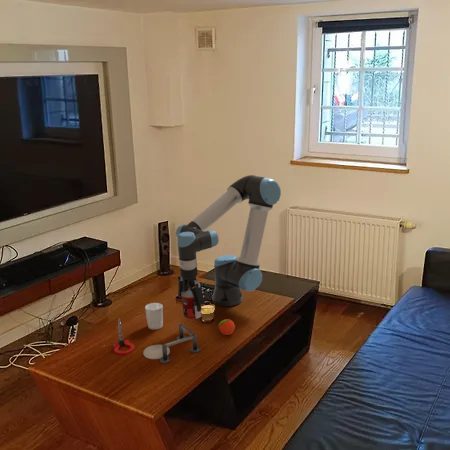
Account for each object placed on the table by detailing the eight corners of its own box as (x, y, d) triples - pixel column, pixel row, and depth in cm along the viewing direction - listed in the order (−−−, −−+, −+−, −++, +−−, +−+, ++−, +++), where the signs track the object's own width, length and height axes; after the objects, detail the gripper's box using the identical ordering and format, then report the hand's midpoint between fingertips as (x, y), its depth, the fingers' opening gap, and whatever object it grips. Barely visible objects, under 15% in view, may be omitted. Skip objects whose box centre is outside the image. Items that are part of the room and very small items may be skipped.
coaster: (162, 343, 237) (162, 342, 237) (174, 353, 228) (174, 352, 228) (139, 351, 231) (139, 349, 231) (150, 362, 222) (150, 360, 222)
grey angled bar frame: (183, 335, 243) (182, 321, 241) (202, 350, 229) (201, 335, 227) (145, 348, 233) (144, 333, 231) (162, 364, 220) (161, 349, 218)
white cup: (161, 330, 248) (159, 310, 245) (144, 329, 250) (142, 309, 247) (166, 322, 255) (164, 303, 252) (150, 321, 257) (148, 302, 254)
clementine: (221, 339, 238) (220, 325, 236) (214, 333, 244) (214, 318, 242) (237, 335, 241) (237, 320, 239) (231, 329, 247) (230, 314, 245)
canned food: (184, 311, 250) (182, 289, 247) (201, 310, 250) (200, 288, 246) (182, 319, 243) (180, 296, 239) (200, 318, 242) (198, 295, 239)
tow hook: (137, 352, 231) (130, 342, 239) (134, 325, 227) (128, 315, 235) (117, 357, 228) (111, 346, 236) (114, 330, 223) (108, 320, 231)
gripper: (167, 264, 244) (171, 310, 251) (197, 275, 230) (200, 324, 236) (180, 259, 249) (184, 304, 256) (210, 270, 234) (213, 318, 241)
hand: (192, 314), depth 246 cm, fingers closed on canned food, 8 cm apart
